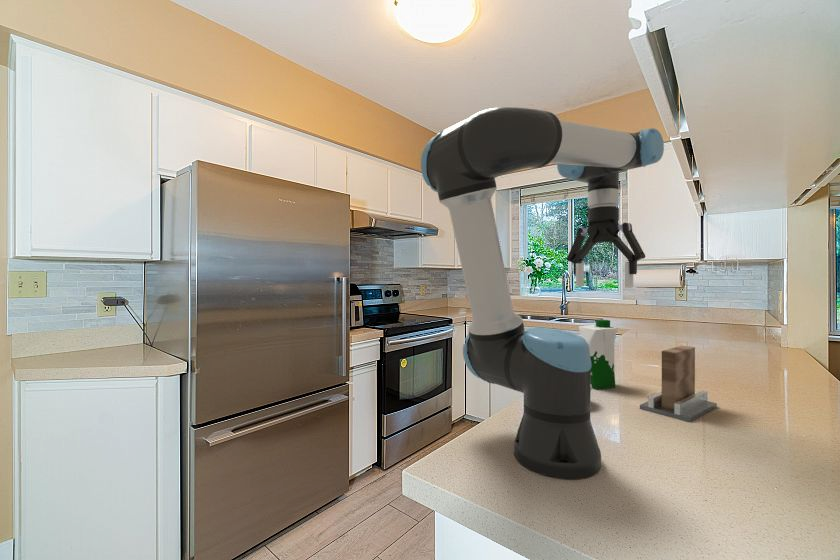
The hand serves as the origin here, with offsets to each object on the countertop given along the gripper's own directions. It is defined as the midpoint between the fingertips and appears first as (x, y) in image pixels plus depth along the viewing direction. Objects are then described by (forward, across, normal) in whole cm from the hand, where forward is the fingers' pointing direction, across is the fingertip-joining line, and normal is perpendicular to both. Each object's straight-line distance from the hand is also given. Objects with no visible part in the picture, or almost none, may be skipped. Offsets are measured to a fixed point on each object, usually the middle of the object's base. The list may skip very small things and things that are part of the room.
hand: (603, 287), depth 102 cm
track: (+31, -14, -10) cm, 35 cm away
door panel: (+30, -14, -10) cm, 34 cm away
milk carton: (+31, +9, -13) cm, 35 cm away
